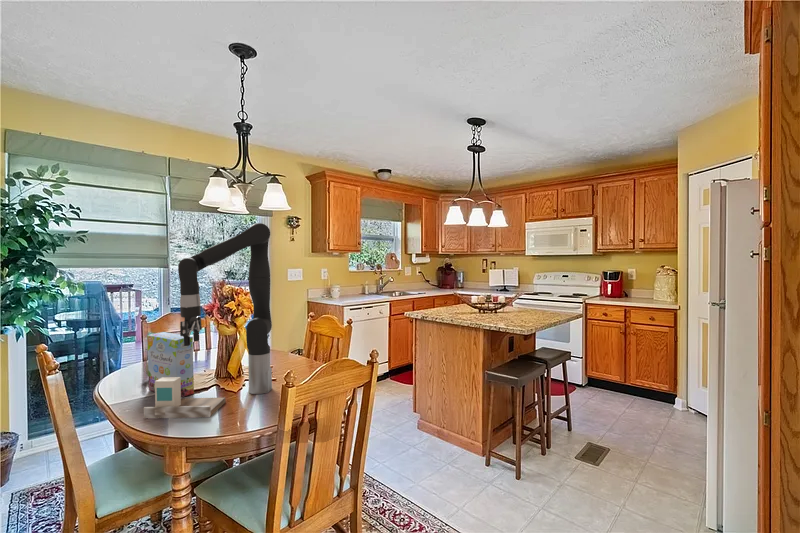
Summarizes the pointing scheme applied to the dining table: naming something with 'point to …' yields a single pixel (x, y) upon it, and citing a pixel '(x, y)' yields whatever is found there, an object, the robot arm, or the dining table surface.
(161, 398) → the product box
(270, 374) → the robot arm
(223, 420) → the dining table surface
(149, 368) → the snack box
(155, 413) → the shelf plank
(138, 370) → the dining table surface
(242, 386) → the dining table surface
